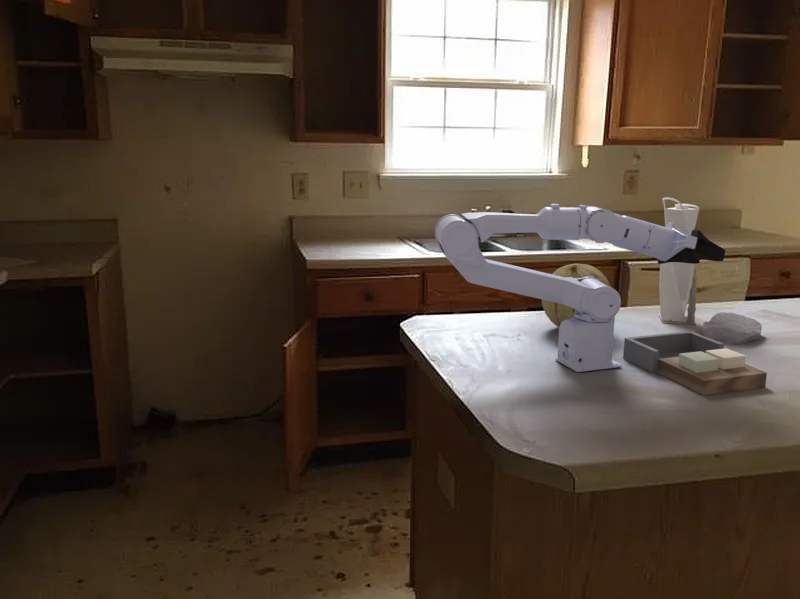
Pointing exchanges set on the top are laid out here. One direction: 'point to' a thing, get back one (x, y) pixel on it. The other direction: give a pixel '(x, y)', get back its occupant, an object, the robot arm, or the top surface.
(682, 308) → the skyscraper
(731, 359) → the cream tile
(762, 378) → the walnut board
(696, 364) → the sage tile
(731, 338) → the stone block
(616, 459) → the top surface
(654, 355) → the box
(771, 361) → the top surface
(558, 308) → the cantaloupe
